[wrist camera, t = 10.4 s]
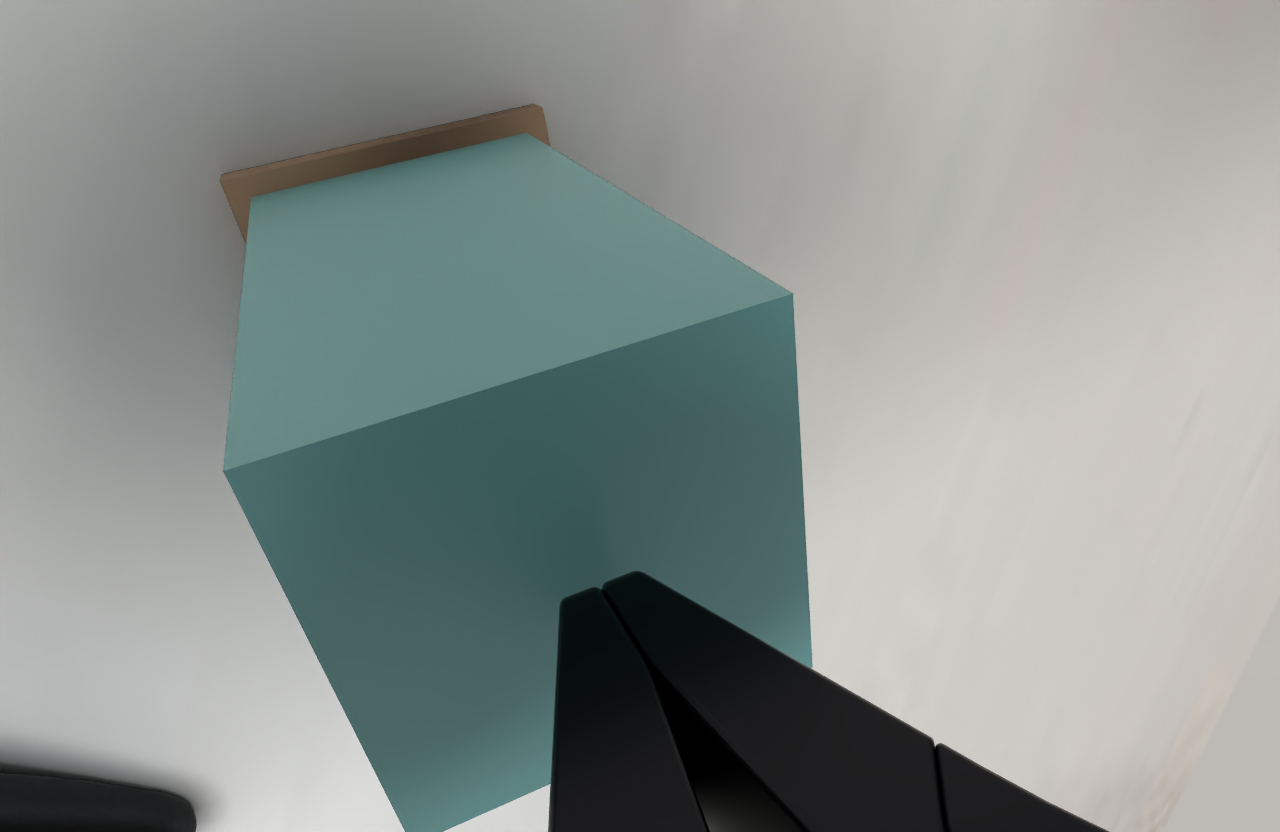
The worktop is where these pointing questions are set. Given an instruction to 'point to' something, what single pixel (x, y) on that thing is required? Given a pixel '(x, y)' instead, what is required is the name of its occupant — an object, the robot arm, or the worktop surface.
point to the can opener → (87, 807)
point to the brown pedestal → (376, 155)
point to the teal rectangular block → (502, 444)
